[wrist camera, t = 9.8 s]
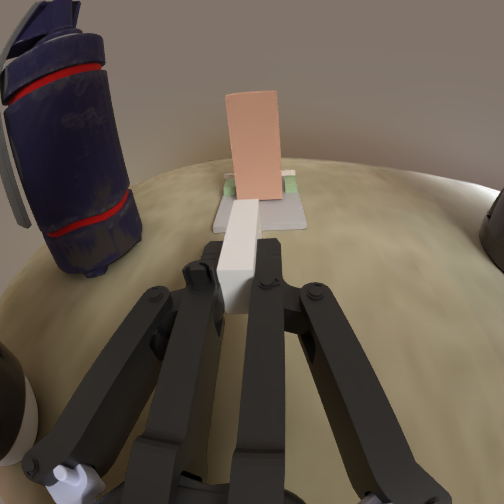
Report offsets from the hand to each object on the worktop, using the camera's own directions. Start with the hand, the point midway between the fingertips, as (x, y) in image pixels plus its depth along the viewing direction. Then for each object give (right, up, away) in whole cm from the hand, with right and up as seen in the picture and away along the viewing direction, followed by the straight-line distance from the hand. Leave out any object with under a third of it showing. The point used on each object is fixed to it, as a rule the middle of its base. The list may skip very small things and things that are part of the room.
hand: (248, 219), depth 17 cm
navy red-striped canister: (-18, -3, +12) cm, 22 cm away
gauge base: (+1, +5, +18) cm, 19 cm away
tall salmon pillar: (+1, +6, +18) cm, 19 cm away
